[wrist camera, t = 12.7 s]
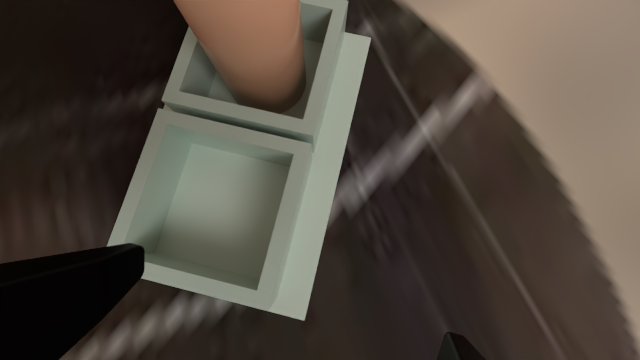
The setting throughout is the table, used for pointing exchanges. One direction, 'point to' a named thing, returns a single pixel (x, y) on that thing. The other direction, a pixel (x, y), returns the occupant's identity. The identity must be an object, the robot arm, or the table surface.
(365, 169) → the table surface
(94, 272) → the robot arm
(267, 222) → the compartment organizer
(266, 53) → the tumbler
